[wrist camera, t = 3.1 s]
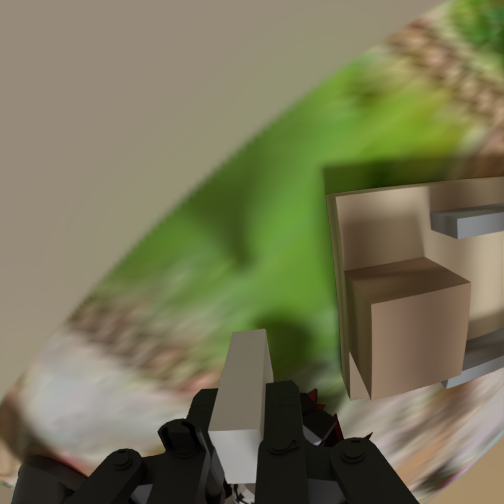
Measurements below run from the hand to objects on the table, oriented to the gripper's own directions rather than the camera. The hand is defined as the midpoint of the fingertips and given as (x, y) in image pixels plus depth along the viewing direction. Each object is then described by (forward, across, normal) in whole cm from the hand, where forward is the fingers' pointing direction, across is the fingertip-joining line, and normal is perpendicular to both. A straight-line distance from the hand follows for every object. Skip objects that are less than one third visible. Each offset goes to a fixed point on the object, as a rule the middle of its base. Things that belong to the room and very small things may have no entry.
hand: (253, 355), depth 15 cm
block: (+4, +8, 0) cm, 8 cm away
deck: (+7, +18, 0) cm, 19 cm away
